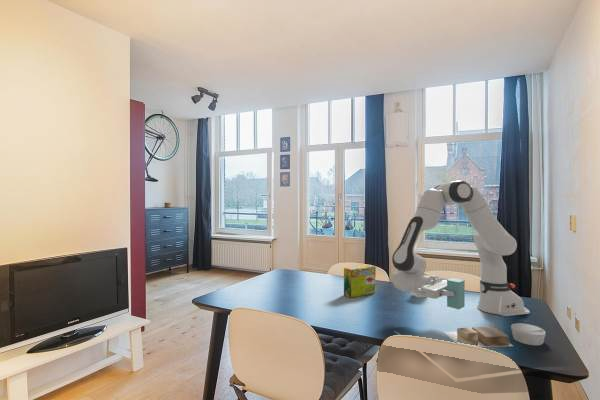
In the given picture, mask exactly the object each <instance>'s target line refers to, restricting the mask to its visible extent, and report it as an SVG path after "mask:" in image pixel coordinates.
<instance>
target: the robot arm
mask: <svg viewBox="0 0 600 400" xmlns="http://www.w3.org/2000/svg"><path fill="white" fill-rule="evenodd" d="M457 204H458V205H459V206H461V210H462V211H463V213H464V215H465V217H466V218H467V220H468V222H469V224H470V226H471V227H472V229H474V230H475V231H476V232H475V233H474V236H473V243H474V244H475V247H476V248H477V253H478V257H479V262H480V280H479V292H480V293H479V294H480V295H479V300H478V303H477V305H476V307H477V309H478V310H479V311H482V312H485V313H489V314H494V315H497V316H498V315H499V316H502V317H511V316H512V317H513V316H520V315H529V314H530V313H531V312H530V310H529V309H528V308H527V307H525V305H524V300H523V299H522V298H521V297H520V296H519V295H518V294H516V293H515V292H513V291H512V290H511V288H512V289H515V287H516V285H515V284H514V283H509V282H508V280H507V279H508V278H507V277H508V275H507V273H508V272H507V271H508V270H507V269H508V267H507V264H506V263H505V261H504V259H503V256H510V255H512V254H513V253H515V252H516V250H517V247H518V243H517V240H516V239H515V238H514V236H512V235H511V234H510V233H509V232H508V231H507V230H506V229H505V228H504V227H503V225H502V224H501V223H500V222H499V221H498V219H497V218H496V216H495V215H494V213H493V212H492V210H491V208H490V206H489V204H488V203H487V200H486V199H485V198H484V196H483V194H482V193H481V192H480V191H479V189H478V188H476V187H475V186H473V185H470V184H469V183H468V182H467V181H465V180H454V181H448V182H447V181H446V182H445V183H442V184H439V185H437V186H435V187H434V188H429V189H426V190H424V192H423V193H422V196H421V197H420V199H419V202H418V205H417V207H416V211H415V213H414V215H413V217H412V218H411V219H410V220H409V222H408V224H407V226H406V229H405V231H404V233H403V235H402V238H401V240H400V243H399V245H398V247H397V248H396V249H395V251H394V252H393V254H392V256H391V261H392V265H393V267H394V269H396V271H394V272H393V273H392V275H391V280H392V281H391V282H392V284H393V286H394V287H395V288H396V289H397V290H399V291H402V292H406V293H412V292H414V293H416V294H419V295H423V296H425V297H426V298H429V299H434V300H437V299H439V298H441V297H444V296H446V297H447V296H455V291H447V280H449V278H448V279H447V278H444V277H440V276H439V275H427V276H425V275H423V274H425V271H426V269H427V268H426V267H427V263H426V259H425V258H424V257H423V256H422V255H419V254H418V253H415V252H414V249H415V246H416V243H417V241H418V239H419V237H420V234H422V233H423V232H424V231H430V230H432V229H435V228H436V227H437V225H438V223H439V221H440V219H441V215H442V211H443V208H444V206H452V205H457Z"/></svg>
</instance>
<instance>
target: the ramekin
mask: <svg viewBox="0 0 600 400" xmlns="http://www.w3.org/2000/svg"><path fill="white" fill-rule="evenodd" d="M510 329H511V332H512V333H511V334H512V338H513V339H514V340H515V341H516V342H518V343H521V344H525V345H529V346H542V345H543V344H544V343H545V338H546V337H545V336H546V331H545V330H544V329H543V328H541V327H540V326H537V325H533V324H530V323H529V324H528V323H520V322H519V323H517V322H516V323H512V324H511V325H510Z"/></svg>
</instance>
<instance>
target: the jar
mask: <svg viewBox="0 0 600 400" xmlns="http://www.w3.org/2000/svg"><path fill="white" fill-rule="evenodd" d="M423 275H425V276H428V274H427V273H424V274H423ZM411 296H413V297H415V298H423V299H424V298H427V297H425V296H423V295H419V294H416V293H414V292H411Z"/></svg>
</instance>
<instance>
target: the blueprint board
mask: <svg viewBox="0 0 600 400" xmlns="http://www.w3.org/2000/svg"><path fill="white" fill-rule="evenodd" d="M443 333H444V334H445V335H446V336H447V337H448V338H449V339H451V340H452V341H453V342H454V343H455V342H457V331H443ZM478 346H480V347H479V348H493V347H495V348H496V347H499V348H500V347H503V346H485V345H483V344H482V343H481V342H479V341H478ZM508 347H514V344H512V343H510V342H509V346H508Z"/></svg>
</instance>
